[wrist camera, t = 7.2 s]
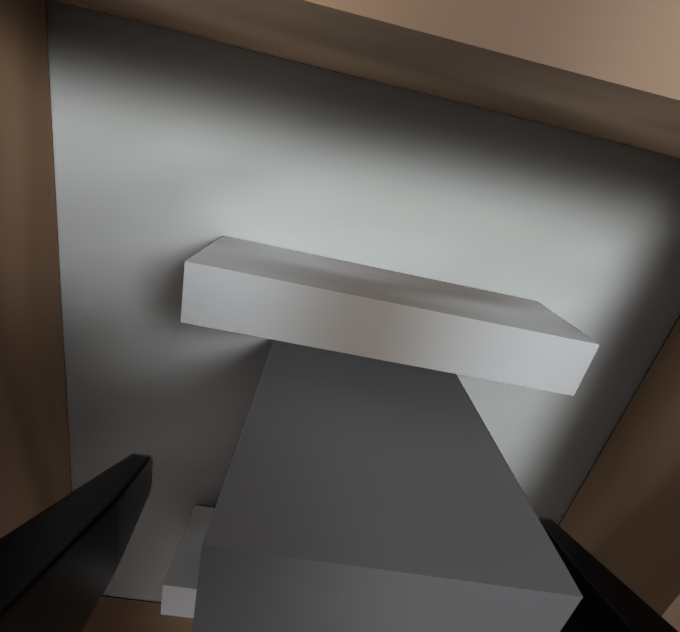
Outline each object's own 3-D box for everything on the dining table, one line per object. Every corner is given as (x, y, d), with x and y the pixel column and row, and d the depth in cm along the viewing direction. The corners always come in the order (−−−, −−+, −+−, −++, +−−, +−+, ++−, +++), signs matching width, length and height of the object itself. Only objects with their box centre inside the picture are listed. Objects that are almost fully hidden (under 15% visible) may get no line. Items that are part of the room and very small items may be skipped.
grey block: (454, 370, 11) (625, 671, 4) (405, 503, 12) (476, 852, 6) (274, 336, 10) (176, 617, 4) (250, 479, 12) (157, 829, 6)
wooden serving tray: (841, 133, 8) (1154, 115, 5) (507, 665, 16) (552, 797, 12) (-30, -101, 7) (-352, -333, 4) (43, 610, 14) (-44, 744, 11)
